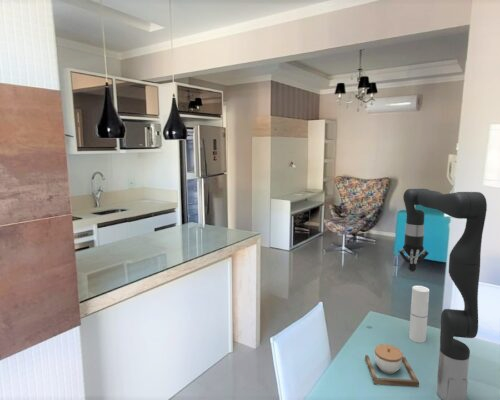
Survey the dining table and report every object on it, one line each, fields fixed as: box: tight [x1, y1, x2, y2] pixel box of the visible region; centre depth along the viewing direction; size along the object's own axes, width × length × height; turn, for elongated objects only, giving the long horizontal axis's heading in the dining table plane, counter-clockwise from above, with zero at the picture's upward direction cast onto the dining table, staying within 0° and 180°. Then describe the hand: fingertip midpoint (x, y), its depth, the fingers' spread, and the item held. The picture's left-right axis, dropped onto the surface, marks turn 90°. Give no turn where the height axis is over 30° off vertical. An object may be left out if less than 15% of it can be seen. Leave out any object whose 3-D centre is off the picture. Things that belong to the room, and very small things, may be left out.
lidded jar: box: [374, 343, 404, 375], centre depth 142 cm, size 11×11×9 cm
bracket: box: [364, 354, 420, 388], centre depth 140 cm, size 16×16×2 cm
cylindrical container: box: [408, 285, 430, 344], centre depth 162 cm, size 7×7×25 cm
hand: (411, 270), depth 155 cm, fingers closed
